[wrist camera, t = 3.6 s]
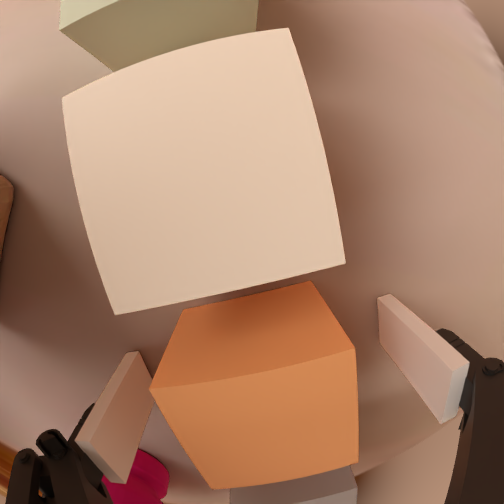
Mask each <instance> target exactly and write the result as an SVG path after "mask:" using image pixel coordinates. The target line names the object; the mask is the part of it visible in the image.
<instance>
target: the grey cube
mask: <svg viewBox="0 0 504 504" xmlns="http://www.w3.org/2000/svg"><path fill="white" fill-rule="evenodd" d="M357 489H358V487H357V484H356V482H355V478H354V476H353V473H352V470H351V467H350V465H348V466H345V467H342V468H338V469H335V470H331V471H327V472H323V473H319V474H315V475H311V476H307V477H302V478H297V479H292V480H287V481H281V482H276V483H269V484H263V485H255V486H247V487H238V488H230V504H357Z"/></svg>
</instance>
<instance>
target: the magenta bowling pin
mask: <svg viewBox="0 0 504 504" xmlns="http://www.w3.org/2000/svg"><path fill="white" fill-rule="evenodd" d="M102 482H103V483H104V484H105V485H106V487H107V490H108V492H109V494H110V497H111V499H112V501H113V503H114V504H163V503H162V502H161V500H160V499H162V498H164V497H165V496H166V494H167V489H168V484H169V473H168V471H167V469H166V468H165V467H164V465H163V464H161V463H160V462H159V461H158V460H157V459H155V458H154V457H152V456H151V455H149V454H147V453H145V452H143V451H141V450H139V449H137V452H136V455H135V458H134V461H133V464H132V467H131V470H130V473H129V476H128V479H127V482H126V484H121V483H113V482H110V481H109V480H108V479H107V478H106V477H105V475H103V477H102Z"/></svg>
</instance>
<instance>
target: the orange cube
mask: <svg viewBox="0 0 504 504" xmlns="http://www.w3.org/2000/svg"><path fill="white" fill-rule="evenodd" d="M149 390H150V392H151V394H152V396H153V398H154V400H155V401H156V403H157V405H158V407H159V409H160V410H161V412H162V414H163V416H164V417H165V419H166V421H167V423H168V424H169V426H170V428H171V429H172V431H173V433H174V434H175V436H176V438H177V439H178V441H179V442H180V444H181V446H182V447H183V449H184V450H185V452H186V453H187V455H188V456H189V458H190V459H191V461H192V462H193V464H194V465H195V467H196V468H197V470H198V471H199V472H200V474H201V475H202V477H203V478H204V479H205V481H206V482H207V484H208V485H209V486H210V488H211V489H226V488H238V487H247V486H255V485H263V484H269V483H276V482H281V481H287V480H292V479H297V478H302V477H307V476H311V475H315V474H319V473H323V472H327V471H331V470H335V469H338V468H342V467H345V466H348V465H352V464H355V463H358V457H359V418H358V387H357V369H356V354H355V347H354V346H353V344H352V342H351V341H350V339H349V338H348V336H347V335H346V333H345V332H344V330H343V329H342V327H341V325H340V324H339V322H338V321H337V319H336V318H335V316H334V315H333V313H332V312H331V310H330V309H329V307H328V306H327V304H326V303H325V301H324V300H323V298H322V297H321V295H320V294H319V292H318V291H317V289H316V288H315V286H314V285H313V283H312V282H311V280H310V281H306V282H302V283H298V284H294V285H290V286H286V287H282V288H278V289H274V290H269V291H265V292H261V293H257V294H252V295H248V296H244V297H239V298H235V299H230V300H226V301H221V302H217V303H212V304H207V305H203V306H198V307H193V308H188V309H183V311H182V313H181V316H180V318H179V320H178V322H177V325H176V327H175V329H174V331H173V334H172V336H171V338H170V341H169V343H168V345H167V347H166V350H165V352H164V354H163V357H162V359H161V361H160V364H159V366H158V368H157V371H156V373H155V375H154V378H153V380H152V383H151V385H150V387H149Z"/></svg>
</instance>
